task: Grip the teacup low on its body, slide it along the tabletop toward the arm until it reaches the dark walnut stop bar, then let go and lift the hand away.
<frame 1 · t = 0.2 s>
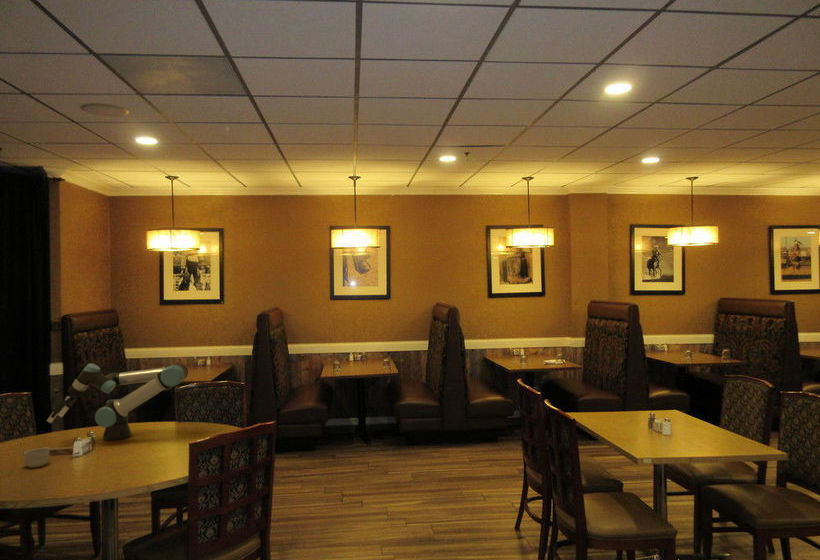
hand: (54, 419, 309), 16 cm above the table, tool tilted 35°, fingers open, 13 cm apart
stop bar: (56, 454, 293), on the table
teacup: (39, 465, 275), on the table
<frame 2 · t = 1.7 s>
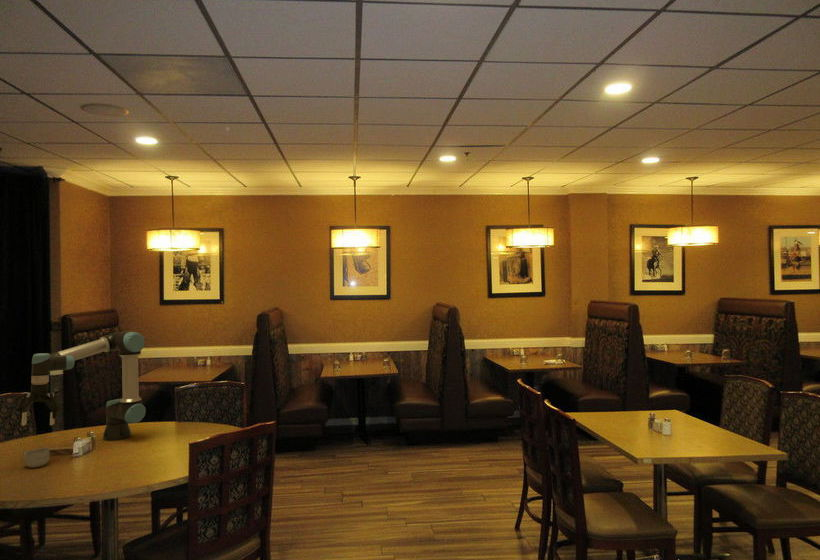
hand: (38, 425, 277), 20 cm above the table, tool pointing down, fingers open, 13 cm apart
nothing on the table moved.
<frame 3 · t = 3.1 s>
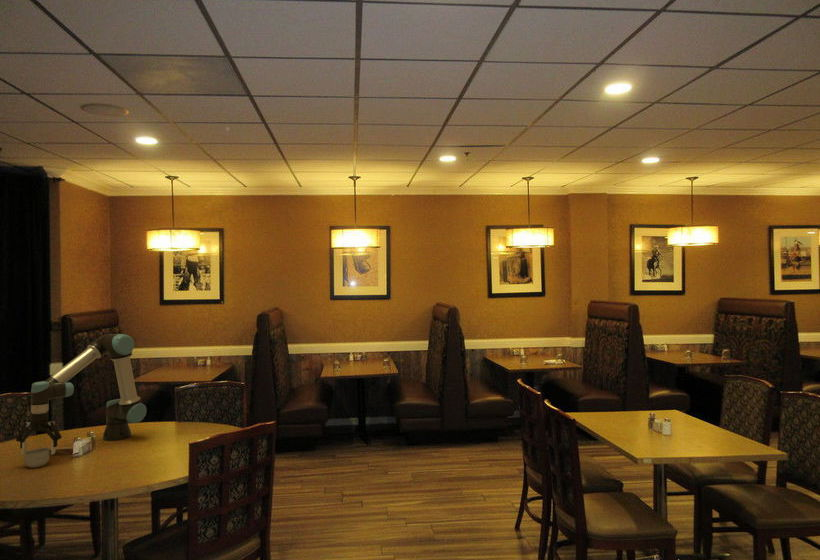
hand: (38, 454, 275), 6 cm above the table, tool pointing down, fingers open, 13 cm apart
nothing on the table moved.
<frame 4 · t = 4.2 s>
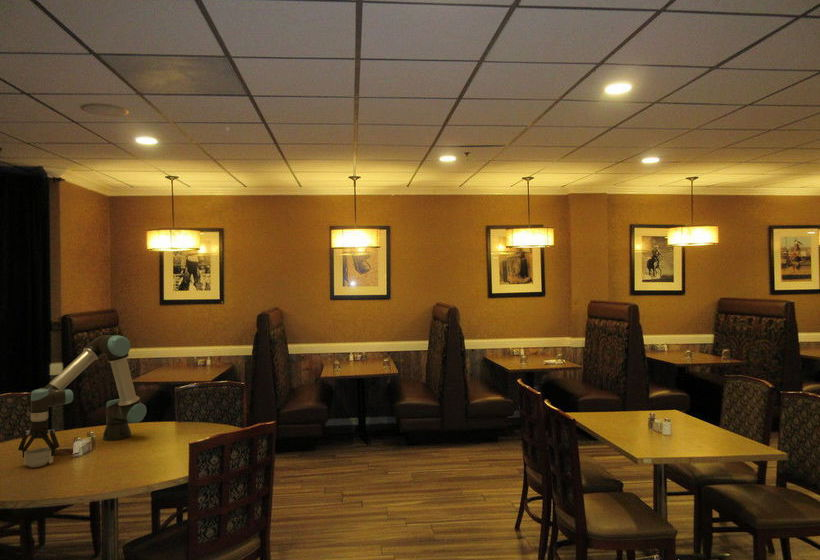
hand: (38, 463, 275), 1 cm above the table, tool pointing down, fingers closed on teacup, 11 cm apart
teacup: (40, 465, 275), on the table, touching gripper
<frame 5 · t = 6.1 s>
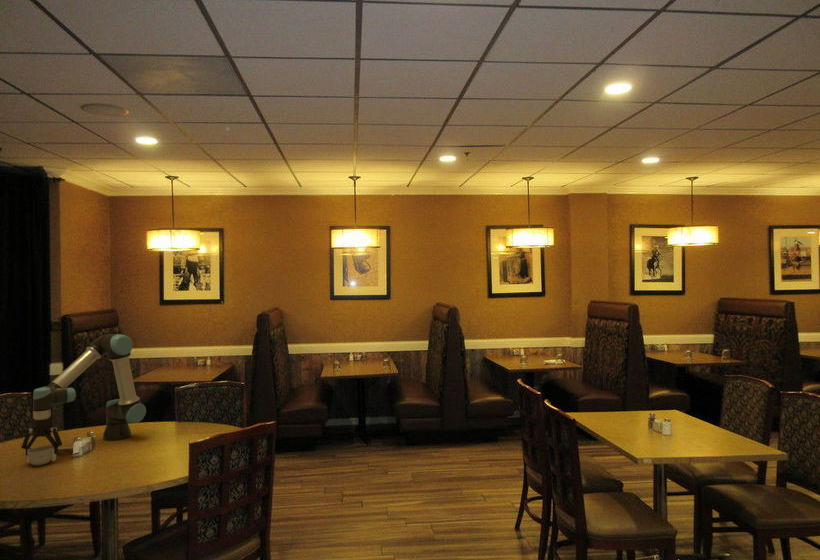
hand: (41, 460, 278), 1 cm above the table, tool pointing down, fingers closed on teacup, 11 cm apart
teacup: (43, 463, 278), on the table, touching gripper
when the fingers open (2 cm above the table, at t = 8.1 s): teacup stays where it is, on the table.
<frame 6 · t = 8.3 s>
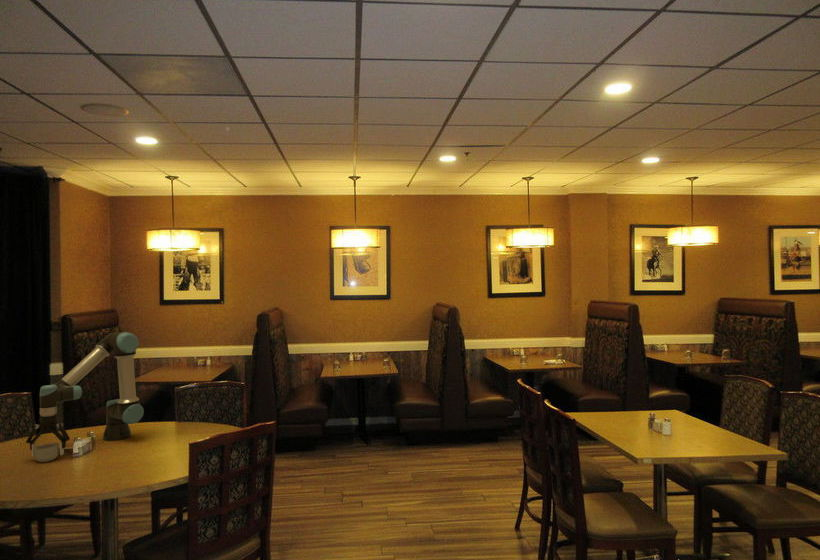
hand: (47, 455, 284), 2 cm above the table, tool pointing down, fingers open, 13 cm apart
teacup: (49, 460, 284), on the table
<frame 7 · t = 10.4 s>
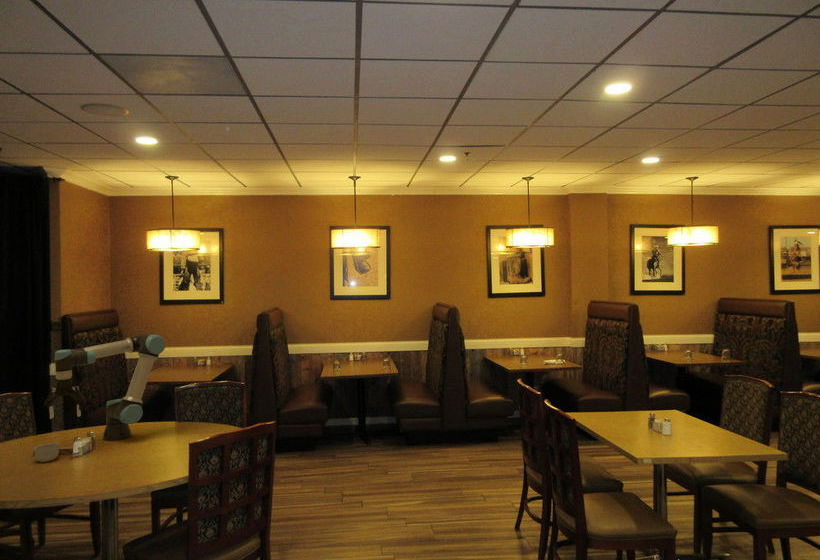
hand: (65, 417, 293), 20 cm above the table, tool pointing down, fingers open, 13 cm apart
nothing on the table moved.
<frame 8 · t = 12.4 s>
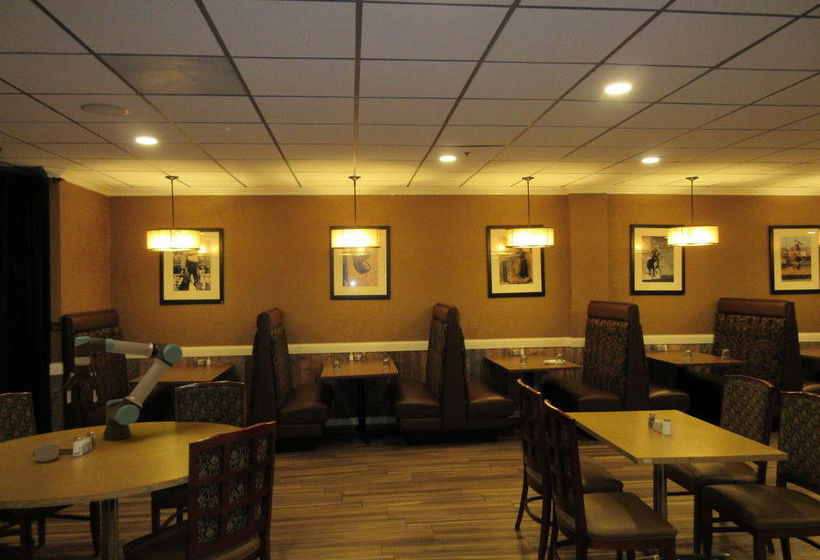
hand: (82, 402, 302), 27 cm above the table, tool pointing down, fingers open, 13 cm apart
nothing on the table moved.
at the end: teacup inside the target area (0.5 cm from its centre), on the table; teacup tilted 0°; the gripper is holding nothing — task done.
